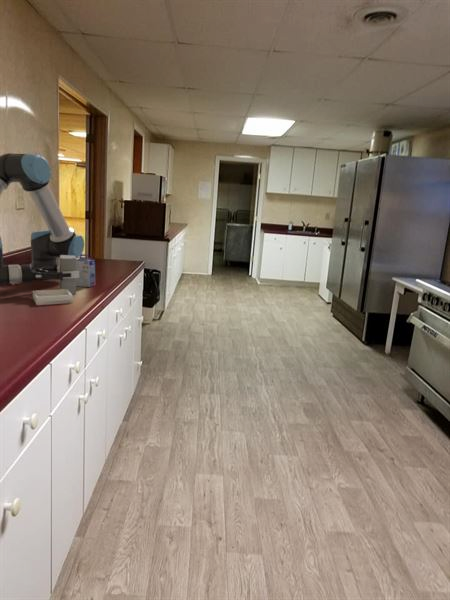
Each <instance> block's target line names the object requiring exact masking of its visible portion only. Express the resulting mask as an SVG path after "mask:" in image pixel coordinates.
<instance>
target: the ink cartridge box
mask: <svg viewBox="0 0 450 600" xmlns="http://www.w3.org/2000/svg"><path fill="white" fill-rule="evenodd" d="M88 256H89V254H83V253H82V254H81V255H80V257H78V258H76V259H77V271H79V278H76V287H83V288H85V287H87V288H92V287H96V261H95V259H88Z"/></svg>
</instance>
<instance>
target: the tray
mask: <svg viewBox="0 0 450 600" xmlns="http://www.w3.org/2000/svg"><path fill="white" fill-rule="evenodd" d="M32 299H33V301H34V302H35V306H43V305H44V306H45V305H47V306H48V305H57V304H59V305H60V304H73V303H74V295H72V294H71V293H70V292H69V291H68V289H59V288H56V289H39V290H37V289H36V290H32Z"/></svg>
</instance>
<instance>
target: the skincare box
mask: <svg viewBox="0 0 450 600" xmlns="http://www.w3.org/2000/svg"><path fill="white" fill-rule="evenodd" d="M77 259H78V258H76V257H75V256H71V255H60V257H59V267H60V272H67V271H77ZM58 285H59V288H58V289H68V291H69V292H70V293H71V294H72V295H73V296H76V295H77V286H76V278H63V280H62V281H61V280H59V284H58Z"/></svg>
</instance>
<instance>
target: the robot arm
mask: <svg viewBox="0 0 450 600" xmlns="http://www.w3.org/2000/svg"><path fill="white" fill-rule="evenodd" d="M51 175H52V173H51V167H50V164H49V162H48V160H47V159H45V157H43V156H41V155H40V154H35V153H31V152H30V153H29V152H27V153H10V152H9V153H4V154H1V155H0V197H2V194H3V192H4V190H7V189H8V187H9V185H11V184H12V183H19V184H20V186H21V187H22V189H23V191H25V192H27V193H29V194H30V196H31V199H32V201H33V202H34V204H35V206H36V208H37V210H38V212H39V213H40V216H41V217H42V219H43V222H44V223H45V225H46V227H47V229H48V230H40V231H37V230H36V231H33V232H31V233H30V249H31V263H30V264H27V263H26V264H21V265H20V264H5V265H4V255H3V254H4V253H3V252H4V251H3V243H2V241H3V240H2V237H1V236H0V285H10V284H11V285H13V286H15V285H16V284H21V283H22V284H31V283H33V279H35V280H57V281H58V280H59V281H60V280H61V281H62V280H63V278H79V271H67V272H60V264H59V263H58V258H60V255H71V256H75V257H76V259H79V258H80V255H81V254H83V252H84V249H85V239H84V237H83V236H82V235H81V234H76V231H75V230H74V229H73V227H71V226H69V225H68V223H67V221H66V218H65V217H64V215H63V212H62V211H61V209H60V207H59V204H58V203H57V201H56V198H55V196H54V195H53V192H52V190H51V188H50V186H49V185H50V181H51V177H52V176H51Z"/></svg>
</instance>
